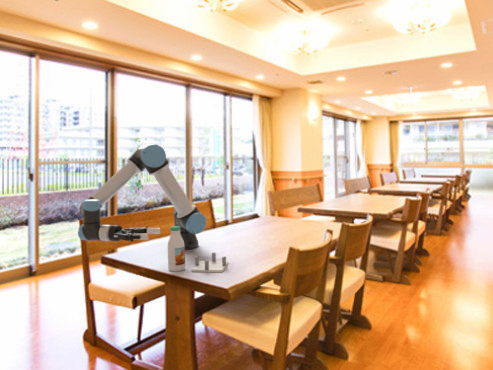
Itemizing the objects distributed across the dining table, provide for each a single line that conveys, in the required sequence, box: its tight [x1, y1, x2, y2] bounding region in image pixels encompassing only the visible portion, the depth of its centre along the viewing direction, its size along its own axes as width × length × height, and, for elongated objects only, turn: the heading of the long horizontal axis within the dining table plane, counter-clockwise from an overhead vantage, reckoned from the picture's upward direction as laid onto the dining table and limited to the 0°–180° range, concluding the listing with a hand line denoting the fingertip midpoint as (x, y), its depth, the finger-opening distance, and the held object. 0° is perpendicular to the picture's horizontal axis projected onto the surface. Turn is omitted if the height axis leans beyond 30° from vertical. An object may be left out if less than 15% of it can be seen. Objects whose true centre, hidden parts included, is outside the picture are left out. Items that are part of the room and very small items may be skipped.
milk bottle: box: [167, 225, 186, 272], centre depth 161 cm, size 8×8×20 cm
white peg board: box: [191, 252, 229, 273], centre depth 163 cm, size 15×15×5 cm
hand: (154, 233), depth 162 cm, fingers open, 13 cm apart
